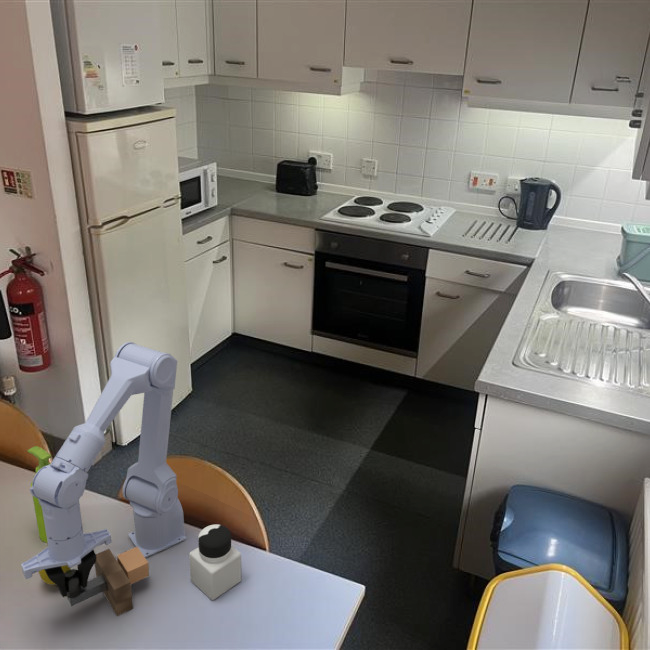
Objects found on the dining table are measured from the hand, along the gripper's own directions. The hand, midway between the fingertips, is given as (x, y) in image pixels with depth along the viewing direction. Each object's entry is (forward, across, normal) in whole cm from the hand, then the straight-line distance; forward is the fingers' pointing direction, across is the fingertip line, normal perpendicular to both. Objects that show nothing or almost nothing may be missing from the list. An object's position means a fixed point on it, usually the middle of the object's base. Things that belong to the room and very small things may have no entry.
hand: (73, 588), depth 113 cm
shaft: (+3, +6, 0) cm, 7 cm away
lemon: (+6, -1, +9) cm, 11 cm away
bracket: (+6, +7, 0) cm, 9 cm away
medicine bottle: (+6, +24, -8) cm, 26 cm away
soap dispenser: (+6, +3, +23) cm, 24 cm away
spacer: (+3, +11, 0) cm, 11 cm away
